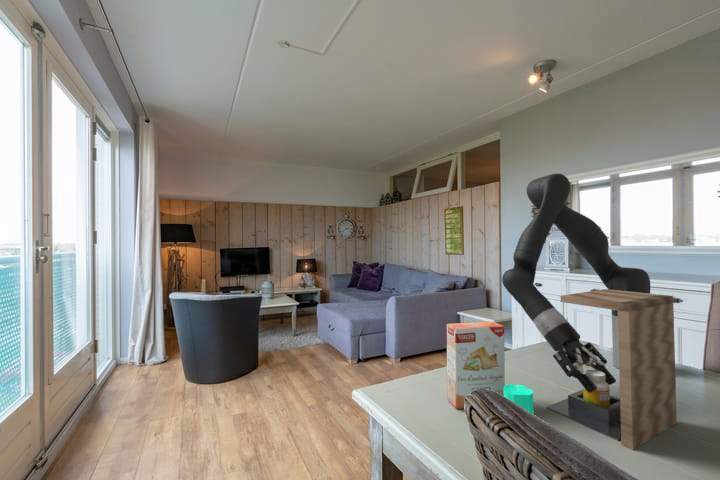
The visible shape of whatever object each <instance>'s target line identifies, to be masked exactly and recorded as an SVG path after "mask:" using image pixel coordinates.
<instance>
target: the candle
mask: <svg viewBox="0 0 720 480" xmlns="http://www.w3.org/2000/svg"><path fill="white" fill-rule="evenodd" d="M504 397H506V398H507V399H509V400H511V401H513V402H515V403H516V404H518V405H519V406H521V407H522V408H524V409H526V410H527V411H529V412H530V413H532V414H534V413H535V412H534V411H535V410H534V390H533V389H530V388H528V387H526V386H525V385H523V384H512V383H507V384H505V386H504ZM534 415H535V414H534Z"/></svg>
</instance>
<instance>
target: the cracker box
mask: <svg viewBox="0 0 720 480" xmlns="http://www.w3.org/2000/svg"><path fill="white" fill-rule="evenodd" d="M505 361H506V360H505V326H504V325H502V324H500V323H498V322H494V321H476V322H457V323H447V324H446V375H447V376H446V378H447V379H446V381H447V385H446V386H447V387H446V388H447V393H446V394H447V395H446V396H447V397H446V398H447V400H448V401H449V402H450V403H451V405H452V406H453V407H454V408H455V409H457V410H458V409H459V410H460V409H465V408H464V397H465V396H466V395H468V394H470V393H471V392H472V391H473V390H475V389H479V388H484V389H489V390H493V391H495V392H498V393H499V394H501V395H503V396H504V386H505V385H506V379H505V378H506V375H505V373H506V372H505V370H506V369H505Z"/></svg>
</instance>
